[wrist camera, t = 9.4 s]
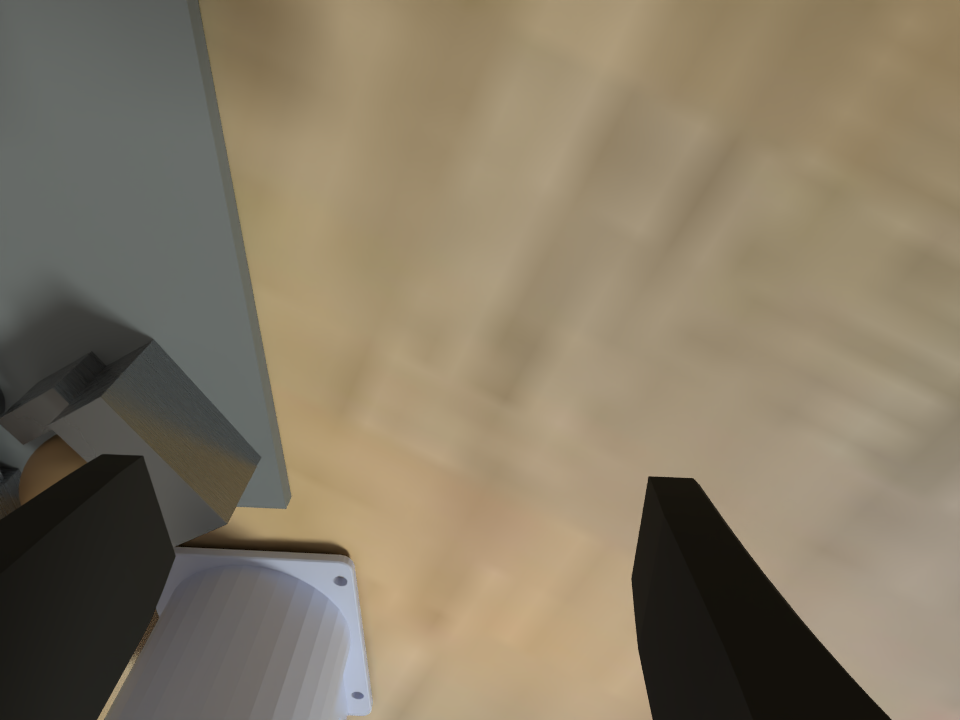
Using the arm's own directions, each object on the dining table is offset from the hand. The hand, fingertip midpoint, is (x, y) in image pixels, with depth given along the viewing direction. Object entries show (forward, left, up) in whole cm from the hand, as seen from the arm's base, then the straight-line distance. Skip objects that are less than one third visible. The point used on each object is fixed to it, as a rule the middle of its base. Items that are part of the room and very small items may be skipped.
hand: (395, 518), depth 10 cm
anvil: (-6, +10, -10) cm, 15 cm away
